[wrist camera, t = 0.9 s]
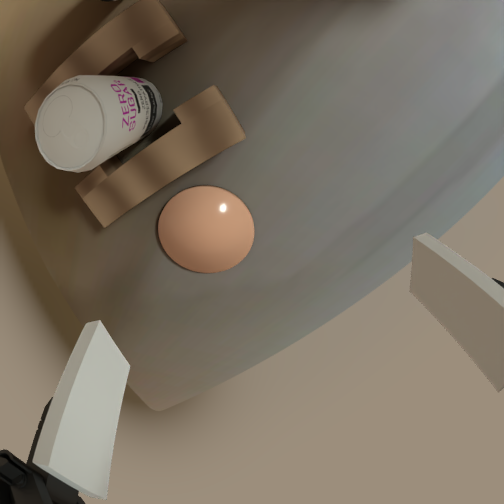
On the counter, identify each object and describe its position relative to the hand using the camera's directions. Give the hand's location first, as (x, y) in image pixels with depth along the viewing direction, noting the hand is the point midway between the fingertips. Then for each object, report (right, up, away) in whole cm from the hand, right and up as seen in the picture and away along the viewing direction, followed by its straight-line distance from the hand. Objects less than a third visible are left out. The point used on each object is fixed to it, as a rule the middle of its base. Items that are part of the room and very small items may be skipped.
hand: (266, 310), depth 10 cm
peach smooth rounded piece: (-7, +5, +28) cm, 29 cm away
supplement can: (-15, +20, +18) cm, 31 cm away
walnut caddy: (-15, +19, +18) cm, 30 cm away
